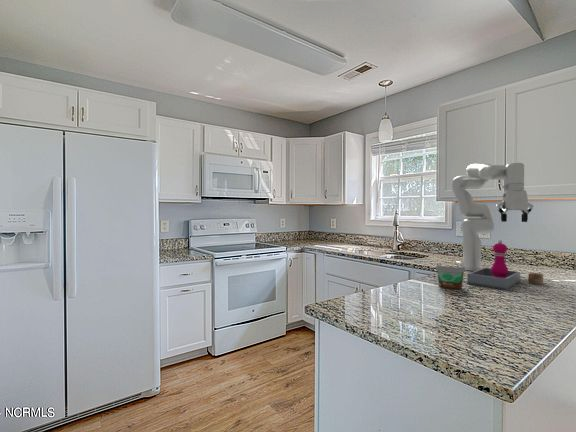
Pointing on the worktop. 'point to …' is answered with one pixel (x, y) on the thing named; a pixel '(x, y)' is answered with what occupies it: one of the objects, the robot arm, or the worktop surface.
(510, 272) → the tray
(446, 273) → the food container
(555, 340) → the worktop surface
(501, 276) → the pepper mill
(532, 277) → the wooden block
